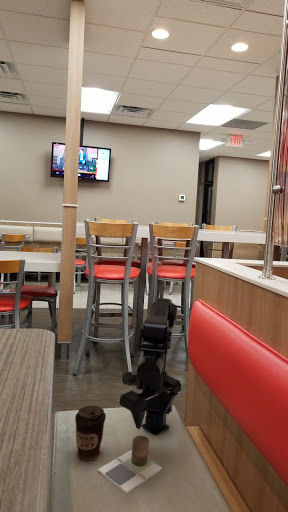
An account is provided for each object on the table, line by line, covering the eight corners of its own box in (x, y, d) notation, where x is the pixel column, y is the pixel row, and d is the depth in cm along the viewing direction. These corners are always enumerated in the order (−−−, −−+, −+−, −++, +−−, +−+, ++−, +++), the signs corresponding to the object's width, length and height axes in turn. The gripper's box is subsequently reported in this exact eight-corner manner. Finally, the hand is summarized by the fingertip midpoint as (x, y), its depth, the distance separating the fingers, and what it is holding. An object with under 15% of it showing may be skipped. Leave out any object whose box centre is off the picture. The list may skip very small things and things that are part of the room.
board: (133, 450, 110) (133, 447, 110) (161, 469, 103) (161, 466, 102) (97, 471, 101) (98, 467, 101) (126, 494, 93) (126, 490, 93)
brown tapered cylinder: (150, 461, 104) (152, 441, 104) (139, 468, 101) (141, 447, 100) (139, 453, 107) (140, 433, 107) (127, 460, 104) (129, 440, 103)
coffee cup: (98, 467, 102) (99, 422, 101) (68, 461, 104) (70, 417, 102) (107, 447, 111) (109, 405, 109) (80, 442, 112) (81, 401, 111)
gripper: (154, 350, 114) (151, 399, 116) (106, 366, 101) (104, 422, 103) (184, 362, 106) (180, 414, 108) (136, 381, 93) (133, 441, 95)
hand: (150, 422), depth 104 cm, fingers open, 9 cm apart
